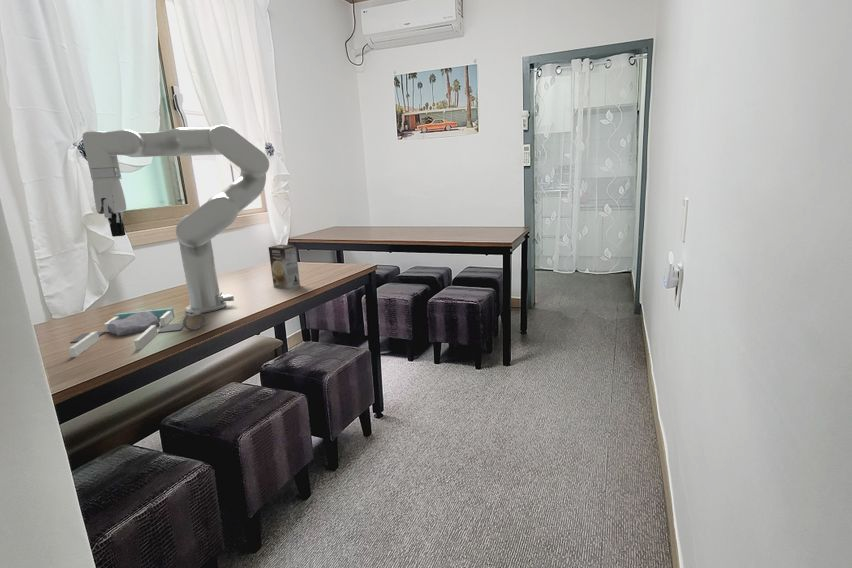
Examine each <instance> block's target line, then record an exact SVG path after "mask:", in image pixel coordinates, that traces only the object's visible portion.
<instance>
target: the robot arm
mask: <svg viewBox="0 0 852 568" xmlns="http://www.w3.org/2000/svg"><path fill="white" fill-rule="evenodd" d="M81 137H82V142H83V146H84V147H83V148H84V151H85V155H86V160H87V163H88V169H89V174H90V179H91V181H92V191H93V198H94V204H95V210H96V213H97V214H98V215H103V216H104V218H105V219H107V222H108V224H109V229H110V233H111V236H112V237H114V238H115V237H124V236H126V230H125V225H124V218H123V217H124V214H125V213H124V212H125V211H126V210H127V204H126V197H125V193H124V190H123V186H122V183H121V180H122V174H121V170H120V164H119V160H118V155H119V156H126V157H130V158H148V157H189V156H191V157H195V156H218V155H222V156H223V157H225V158H226V159H227V160H228V161H230V162H231V163H233V164H234V165H235V166H236V167H238V168H239V169H240V175H239V176H238V177H237V179H236V180H234V181H233V182H232V183H231V184H229V185H228V186H227V187H226V188H224V189H222V190H221V191H220V192H218V193H217V194H215V195H214V196H211V197H210V198H209V199H208V200H207V201H206V202H205V203H203V204H202V205H201V206H200V207H198V208H197V209H195V210H193V212H192V211H191V213H190V214H186V215H184V216H182V217H180V219H179V220H178V222H177V223H176V226H175V227H176V228H175V234H176V237H177V239H178V245H179V249H180V250H179V251H180V255H181V259H182V260H181V261H182V267H183V273H184V278H185V283H186V290H187V294H188V301H189V304H188V305H187V306H186V307H185V311H186V313H190V312H194V311H198V312H200V313H202V314H203V313H210V312H214V311H218V310H221V309H223V308H225V307H226V306H227V302H234V301H235V296H234V295H232V294H226V295H224V294H223V291H220V288H219V287H220V286H219V281H218V275H217V268H216V264H215V263H216V262H215V257H214V251H213V250H214V249H213V245H212V239H214V237H217V236H218V235H219V234H220V233H222V232H223V231H225V229H227V228H229V226H231V225H232V224H233V223H234V221H236V219H237V217H238V215H239V213H240V212H242V211H243V210H245V209H246V208H247V207H248V206H249V205H250V204H252V203H253V202H254V201H255V200H257V199H258V198H259V197H260V195H261V194H262V192H263V191H264V188H265V186H266V180H267V173H268V171H269V169H270V161H269V159H268V157H267V155H266V154H265V153H264V152H263V151H262V150H261V149H259V148H258V147H257V146H255V145H254V144H252V142H250V141H249V140H247V139H246V138H245V137H244V136H242V135H241V134H239V132H238V131H236V130H235V129H233V128H232V127H231V126H228V125H225V124H219V125H215V126H211V127H209V126H208V127H205V126H204V127H175V128H172V129H169V130H163V131H153V132H151V131H150V132H144V131H143V132H136V131H134V130H131V129H119V130H113V131H104V130H103V131H102V130H91V131H90V130H89V131H85V132H84V133H83V134H82V136H81Z"/></svg>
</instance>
